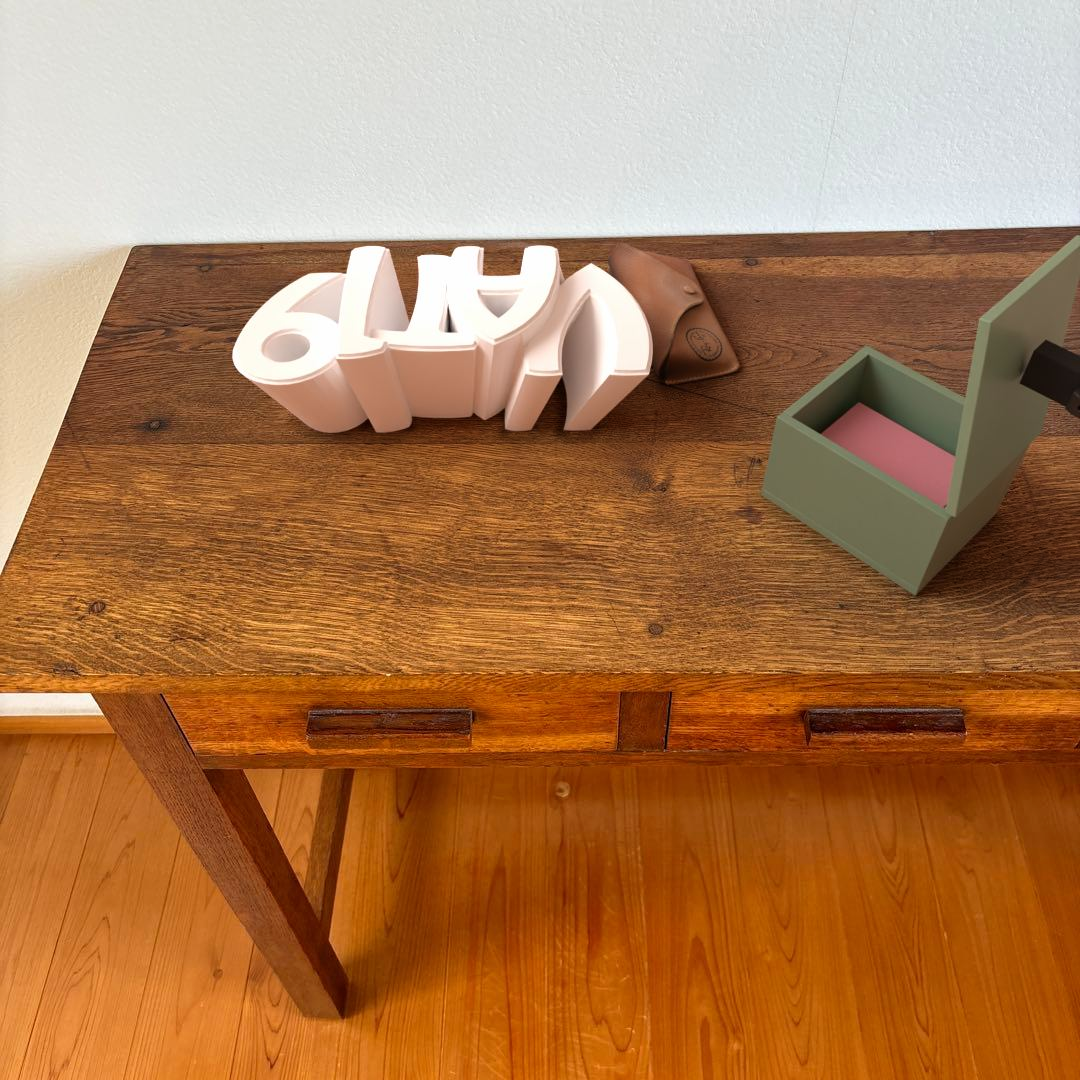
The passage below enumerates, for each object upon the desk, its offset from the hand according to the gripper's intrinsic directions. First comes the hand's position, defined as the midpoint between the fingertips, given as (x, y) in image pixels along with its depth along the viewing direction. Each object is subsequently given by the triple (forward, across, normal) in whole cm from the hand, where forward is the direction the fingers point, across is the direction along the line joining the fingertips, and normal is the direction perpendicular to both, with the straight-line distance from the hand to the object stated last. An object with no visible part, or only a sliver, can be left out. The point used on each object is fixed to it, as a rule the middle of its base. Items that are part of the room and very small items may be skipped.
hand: (1032, 361), depth 64 cm
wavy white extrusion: (+42, -15, -19) cm, 48 cm away
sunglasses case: (+34, +6, -19) cm, 40 cm away
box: (+7, 0, -19) cm, 20 cm away
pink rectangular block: (+7, 0, -18) cm, 19 cm away
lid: (+1, 0, -2) cm, 2 cm away
